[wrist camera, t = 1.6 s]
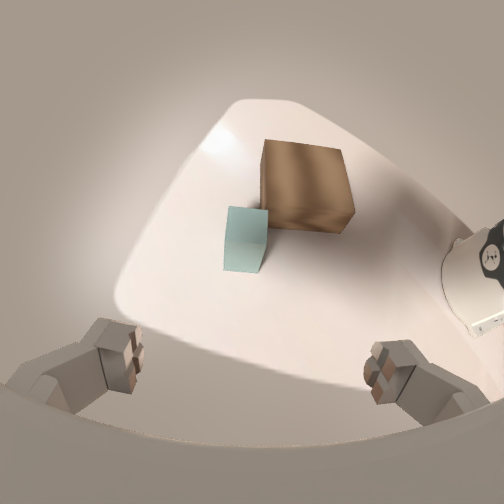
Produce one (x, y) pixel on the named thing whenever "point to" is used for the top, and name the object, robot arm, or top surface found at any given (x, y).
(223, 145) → the top surface
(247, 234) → the tea tin
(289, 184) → the walnut block
